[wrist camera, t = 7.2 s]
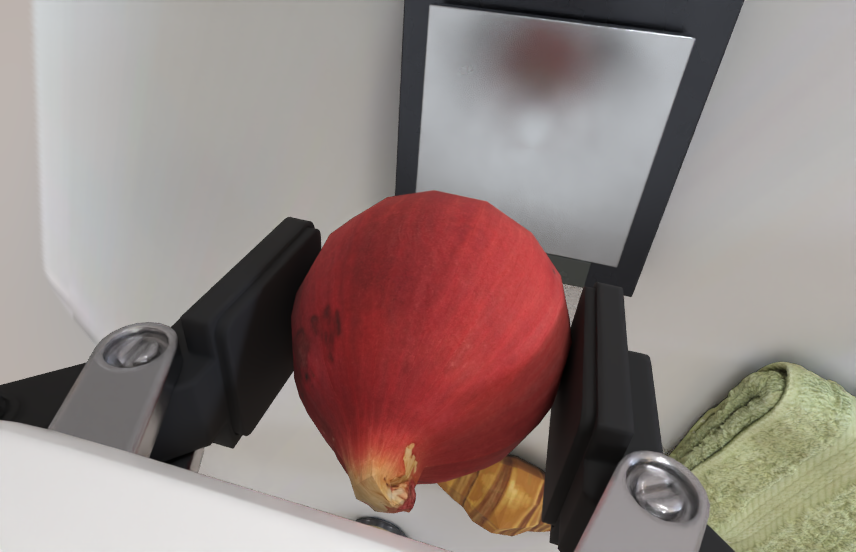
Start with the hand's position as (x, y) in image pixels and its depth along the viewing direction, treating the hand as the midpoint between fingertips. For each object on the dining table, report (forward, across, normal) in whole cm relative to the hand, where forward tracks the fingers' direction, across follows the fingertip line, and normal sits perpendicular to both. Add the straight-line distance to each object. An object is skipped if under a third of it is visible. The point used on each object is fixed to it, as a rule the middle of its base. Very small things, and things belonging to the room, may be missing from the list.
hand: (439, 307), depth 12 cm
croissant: (+17, -4, +28) cm, 33 cm away
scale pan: (+14, -1, +1) cm, 14 cm away
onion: (+3, 0, 0) cm, 3 cm away
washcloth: (+17, -20, +20) cm, 33 cm away
